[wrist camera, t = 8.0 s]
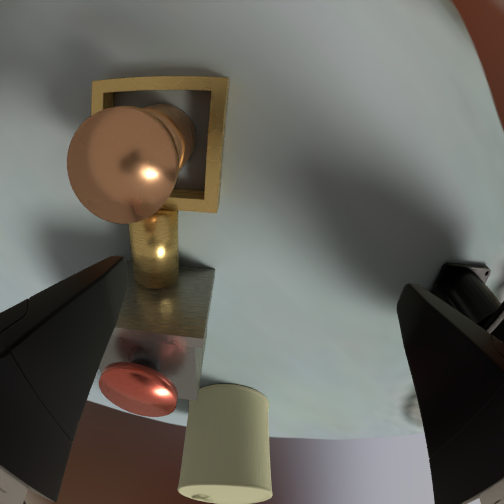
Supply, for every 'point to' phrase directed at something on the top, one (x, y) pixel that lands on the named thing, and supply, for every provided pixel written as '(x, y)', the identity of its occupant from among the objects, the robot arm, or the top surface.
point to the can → (227, 446)
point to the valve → (157, 324)
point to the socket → (217, 119)
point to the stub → (129, 160)
